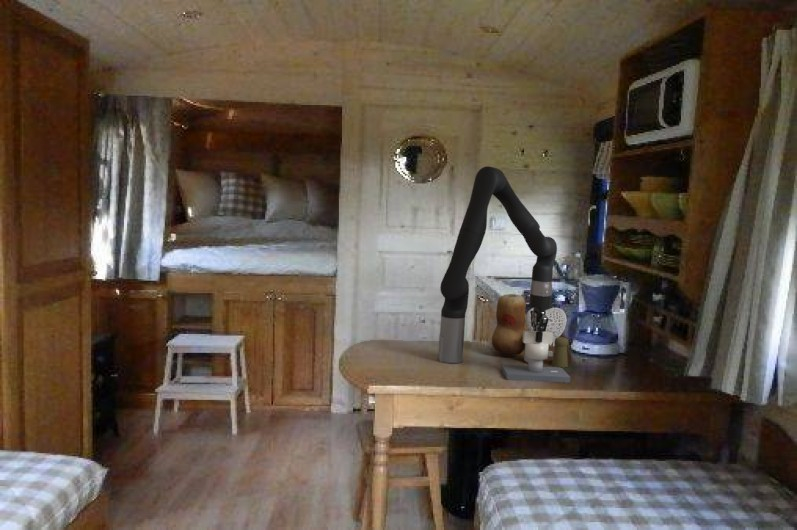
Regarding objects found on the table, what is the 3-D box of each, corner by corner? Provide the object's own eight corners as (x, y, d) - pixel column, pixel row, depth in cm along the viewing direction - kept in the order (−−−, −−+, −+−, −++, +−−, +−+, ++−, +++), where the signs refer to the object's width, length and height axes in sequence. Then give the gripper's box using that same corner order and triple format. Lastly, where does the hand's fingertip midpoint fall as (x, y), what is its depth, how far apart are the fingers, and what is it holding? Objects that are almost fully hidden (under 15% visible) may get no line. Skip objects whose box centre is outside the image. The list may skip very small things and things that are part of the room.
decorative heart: (559, 343, 272) (562, 305, 270) (568, 349, 261) (572, 310, 260) (520, 343, 270) (522, 304, 268) (528, 349, 259) (531, 309, 257)
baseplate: (506, 379, 214) (508, 360, 213) (501, 369, 226) (502, 351, 225) (569, 382, 214) (571, 363, 213) (561, 372, 226) (562, 354, 225)
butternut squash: (487, 357, 243) (491, 295, 240) (494, 350, 255) (498, 290, 252) (522, 362, 238) (527, 298, 235) (528, 354, 250) (532, 294, 248)
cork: (568, 368, 232) (570, 340, 231) (551, 366, 233) (554, 338, 232) (567, 364, 238) (569, 336, 237) (551, 362, 239) (553, 335, 238)
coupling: (524, 359, 215) (526, 333, 214) (519, 353, 223) (521, 328, 222) (554, 360, 215) (556, 335, 214) (548, 354, 223) (550, 330, 222)
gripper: (524, 289, 223) (521, 336, 225) (536, 296, 209) (532, 345, 211) (544, 290, 224) (541, 337, 226) (557, 297, 210) (554, 346, 212)
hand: (537, 341), depth 218 cm, fingers closed on coupling, 2 cm apart
